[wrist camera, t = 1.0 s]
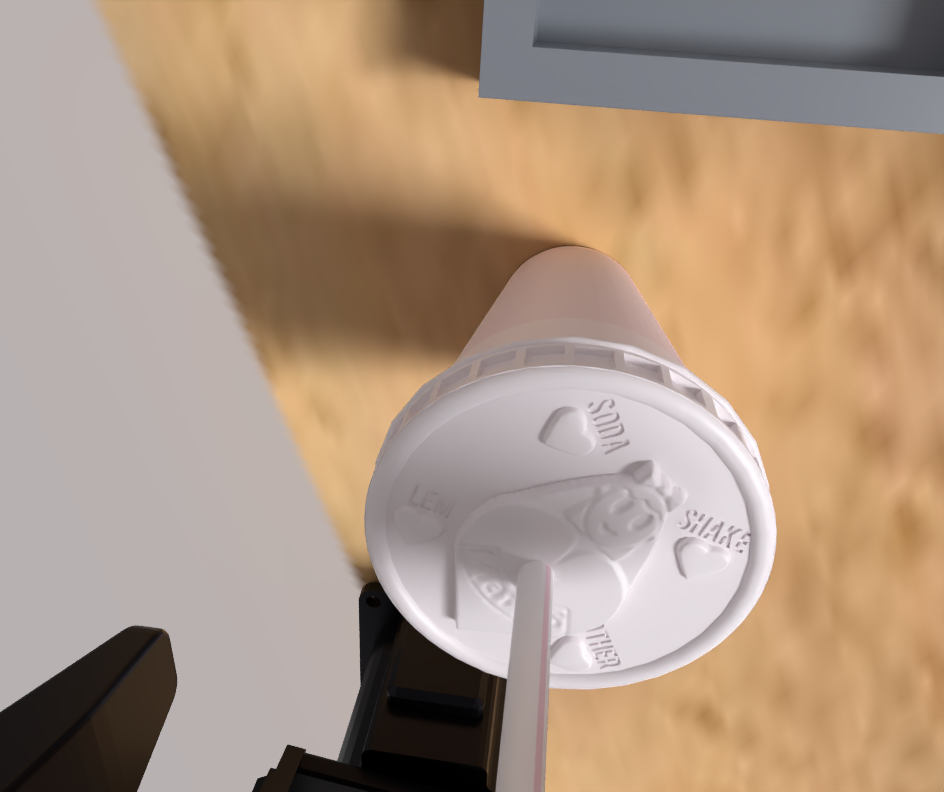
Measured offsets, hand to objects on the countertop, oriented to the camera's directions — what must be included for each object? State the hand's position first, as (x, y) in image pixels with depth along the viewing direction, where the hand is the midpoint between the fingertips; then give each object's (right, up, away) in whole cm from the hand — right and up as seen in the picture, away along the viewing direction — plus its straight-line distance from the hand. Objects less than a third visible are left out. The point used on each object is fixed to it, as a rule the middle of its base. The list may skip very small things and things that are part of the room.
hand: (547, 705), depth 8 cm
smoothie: (+2, +6, +12) cm, 13 cm away
